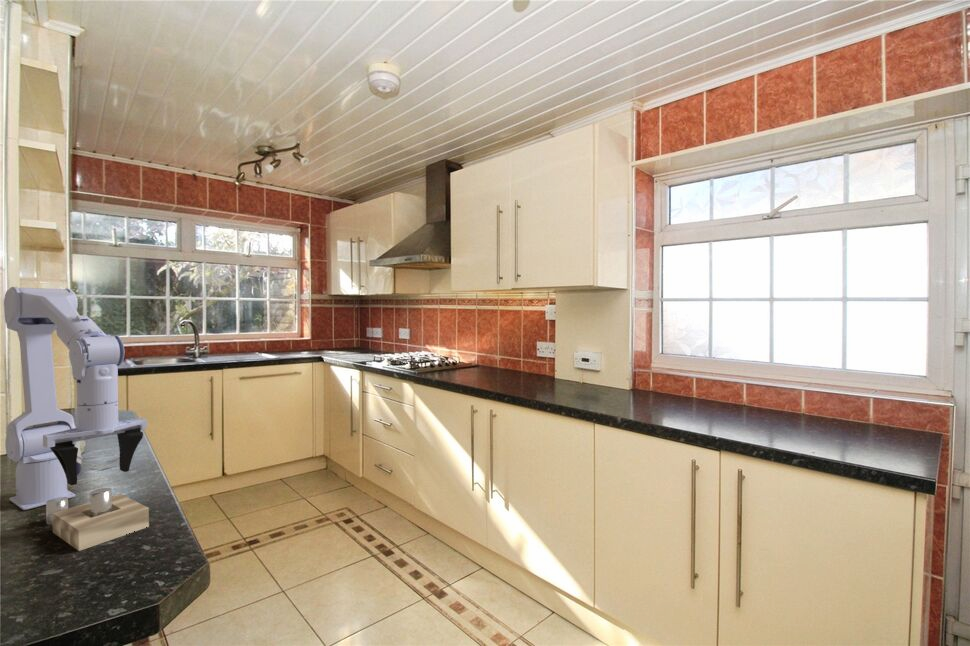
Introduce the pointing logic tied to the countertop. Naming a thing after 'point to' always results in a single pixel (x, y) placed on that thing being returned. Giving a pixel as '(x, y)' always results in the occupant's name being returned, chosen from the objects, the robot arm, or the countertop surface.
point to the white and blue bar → (79, 455)
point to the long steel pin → (100, 502)
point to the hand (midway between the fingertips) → (99, 476)
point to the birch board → (99, 522)
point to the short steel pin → (55, 507)
